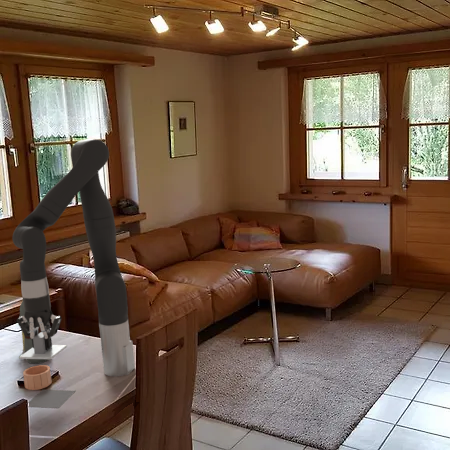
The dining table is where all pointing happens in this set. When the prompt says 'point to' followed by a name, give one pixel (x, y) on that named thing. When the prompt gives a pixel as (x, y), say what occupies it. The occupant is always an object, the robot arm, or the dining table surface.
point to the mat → (50, 398)
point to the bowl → (37, 377)
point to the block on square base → (42, 349)
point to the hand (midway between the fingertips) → (42, 349)
